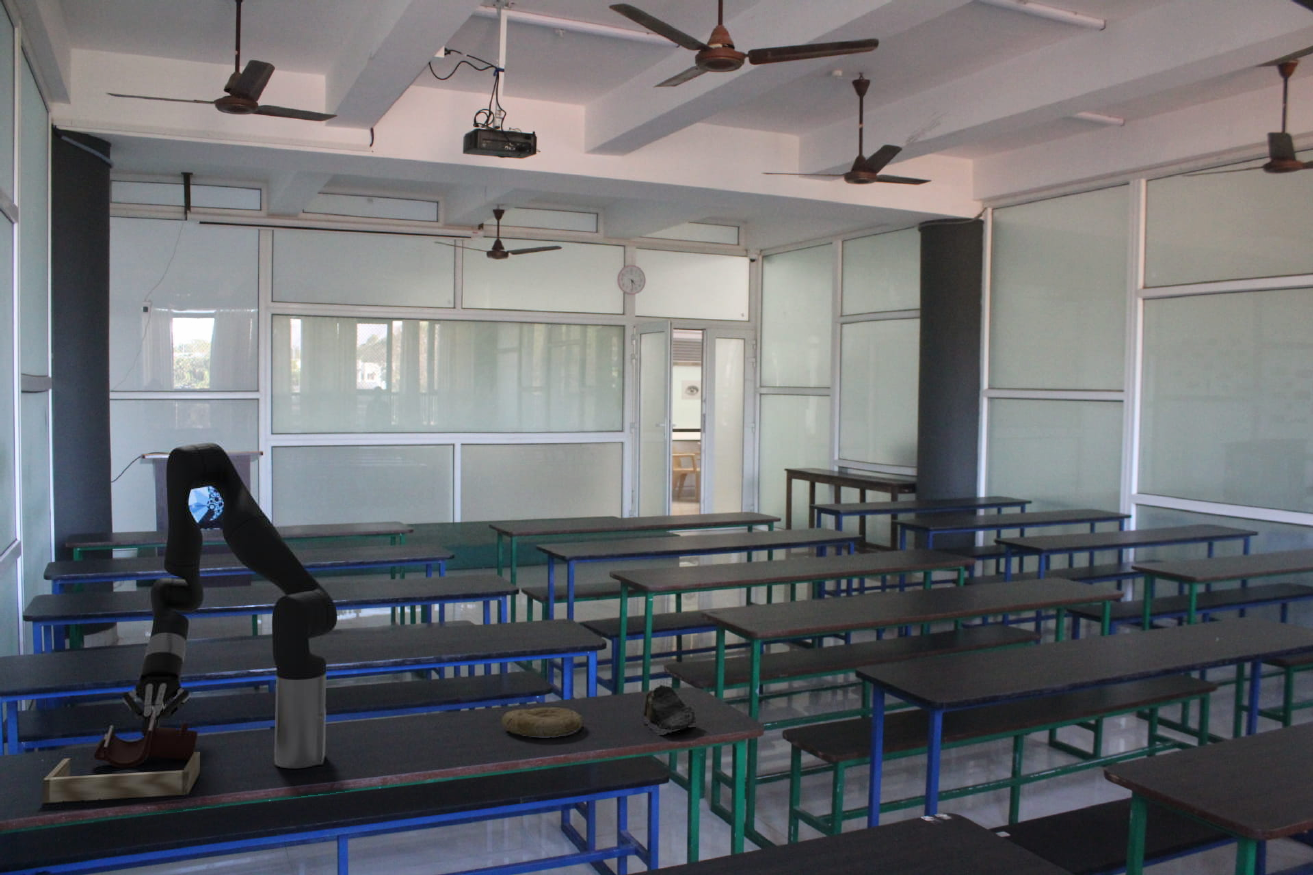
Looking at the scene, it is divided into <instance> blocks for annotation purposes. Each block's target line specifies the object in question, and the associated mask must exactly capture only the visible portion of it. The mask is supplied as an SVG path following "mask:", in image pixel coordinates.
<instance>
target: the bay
mask: <svg viewBox="0 0 1313 875" xmlns="http://www.w3.org/2000/svg"><path fill="white" fill-rule="evenodd" d="M200 762H201V751H194V752H193V755H192V757H191V758H190V760H188V762H187V764H186V765H185V767H184V768H183V770H182V769H181V770H165V771H148V772H147V771H146V772H131V773H128V772H127V773H110V774H108V773H107V774H95V775H94V774H93V775H92V774H91V775H75V776H74V775H73V776H71V758H70V757H69V758H63V759H62V760H61V761H60V762H59V763H58V764H57V765H56V767H55V768H53V769H52V771H50V772H49V774H47V776H46V777H45V778H43V782H42V784H43V785H42V786H43V787H42V788H43V789H42V790H43V791H42V803H43V804H47V803H48V804H49V803H63V801H64V803H65V801H66V802H81V800H82V801H83V800H84V801H99V799H100V801H101V800H115V799H117V800H118V799H128V798H129V799H131V798H132V799H133V798H134V799H135V798H146V797H147V798H149V797H151V798H152V797H165V796H179V795H181V796H183V795H184V796H185V795H189V793H190V792H191V789H192V787H193V785H194V784H195V782H196V780H197V779H198V776H199V775H200V773H201V772H200V769H201V767H200V766H201V765H200Z"/></svg>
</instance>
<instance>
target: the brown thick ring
mask: <svg viewBox="0 0 1313 875" xmlns="http://www.w3.org/2000/svg"><path fill="white" fill-rule="evenodd" d="M501 724H502V727H503V728H504V729H505V730H506V729H507V730H506V731H508V732H509V731H510V732H509V733H511V732H513V733H512V734H514V733H516V734H515V735H517V734H521V735H526V736H558V735H562V734H563V735H564V734H569V733H572V732H575V731H577V730H578V729H580V728H581V727H582V728H583V725H584V717H583V716H582V715H581V714H580V713H578V712H577V711H575V710H571V709H568V708H563V707H557V706H555V707H538V708H531V709H514V710H510V711H508V712H506V713H505V714H504V715H503V716H502V719H501ZM582 728H581V729H582ZM581 729H580V730H581Z"/></svg>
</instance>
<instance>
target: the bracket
mask: <svg viewBox="0 0 1313 875" xmlns="http://www.w3.org/2000/svg"><path fill="white" fill-rule="evenodd" d="M156 716H157V710H153V713H152V717H151V721H150V725H149V729H148V732H147V734H146V735H145V736H142V737H141V738H139V739H137V740H133V741H128V740H123V739H121V738H119V737H117V735H116V733H115V732H114V725H110V726H109V729H108V732H107V733H105V734H104V735H103V736H102V737H101V740H100V741H99V742H98V744H97V746H96V747H95V750H94V753H93V757H94V759H95V760H98V761H102V762H103V761H104V762H107V763H108V764H109V765H111V766H113V767H117V768H121V769H123V768H134V767H136V766H140V765H141V764H143V762H145V761H146V759H147V758H148V757H150V758H151V757H153V758H161V759H163V758H164V759H170V760H172V759H173V760H184V761H189V760H190V758H191V757H192V755H193V753H194V752H195V748H196V742H197V739H198V734H199V731H197V730H191V729H189V726H190V723H188V722H187V723H185V722H182V723H181V725H180V726H181V728H171V727H163V726H159V727H155V724H156Z"/></svg>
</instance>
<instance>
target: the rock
mask: <svg viewBox="0 0 1313 875" xmlns="http://www.w3.org/2000/svg"><path fill="white" fill-rule="evenodd" d="M645 700H646V701H645V704H644V711H643V714H642V716H643V715H644V716H647V719H648V721H649V723H652V724H655V725H657V726H658V727H659V728H660V729H666V730H667V729H669V730H675V729H682V728H685V727H688V726H690V725H692V724H693V723H694V720H695V719H697V718H696V717H695V711H694V709H693V708H692V707H691V706H690V705H686V704H685V703H684V701H683V700H682V699H681V698H680V697H679V695H678V694H677V693H676V691H675V690H674V689H673V688H672V687H671V686H666V685H662V684H660V685H659V686H657V687H655V688H654V690H650V691H648V692H647V693H646V696H645ZM695 721H696V720H695ZM685 729H686V728H685Z"/></svg>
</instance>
